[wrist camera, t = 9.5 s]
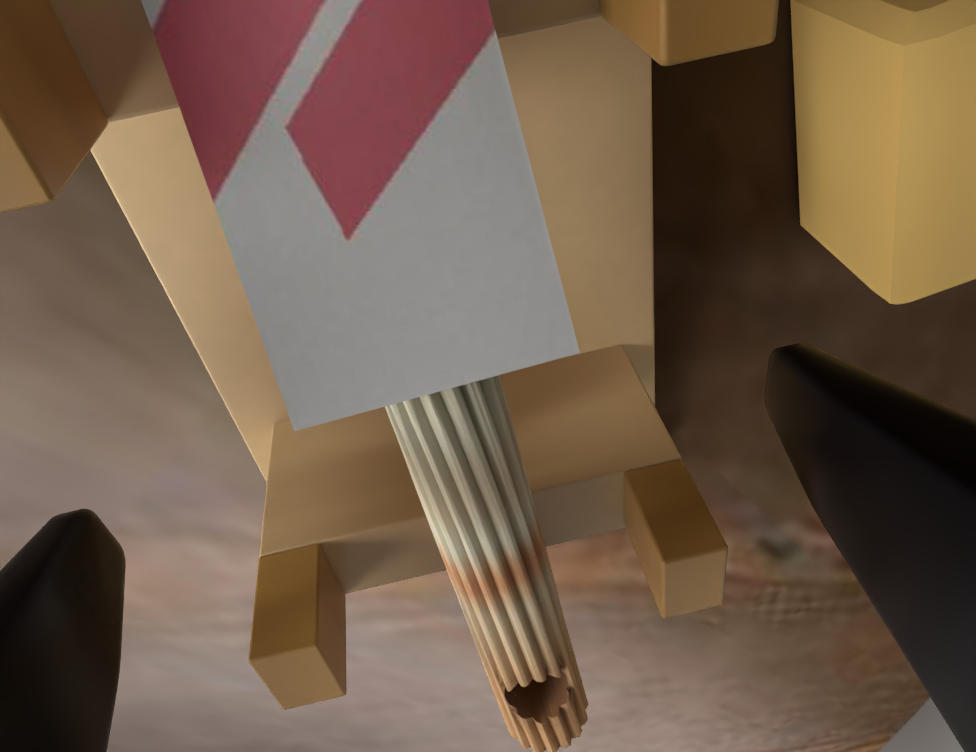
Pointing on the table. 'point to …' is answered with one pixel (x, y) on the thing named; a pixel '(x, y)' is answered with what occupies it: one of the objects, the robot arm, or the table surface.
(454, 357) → the paintbrush
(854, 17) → the rubber stamp
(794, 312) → the table surface
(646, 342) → the brush rack
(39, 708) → the robot arm
